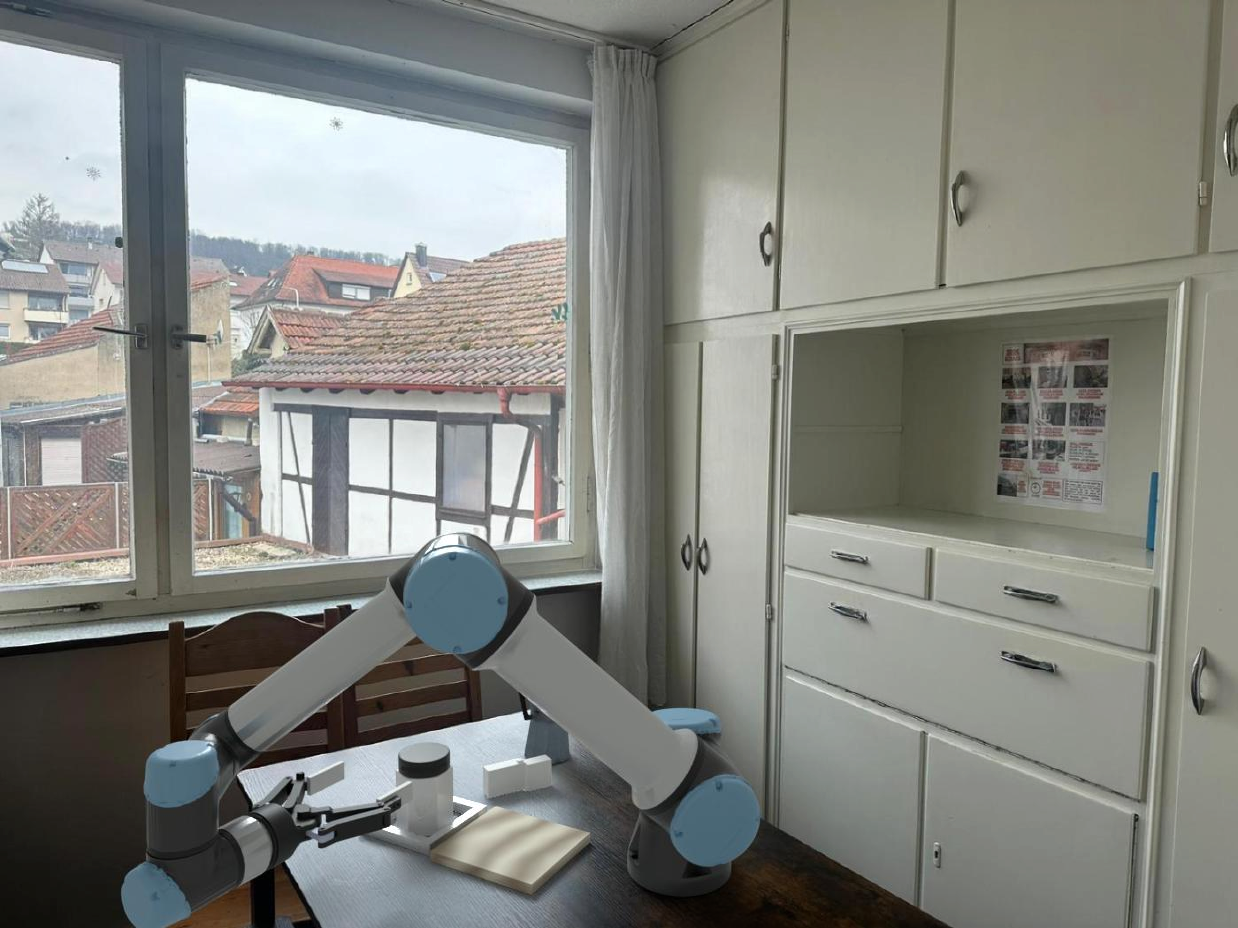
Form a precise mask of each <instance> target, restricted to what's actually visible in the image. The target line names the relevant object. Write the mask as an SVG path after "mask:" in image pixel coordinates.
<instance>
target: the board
mask: <svg viewBox="0 0 1238 928" xmlns="http://www.w3.org/2000/svg"><path fill="white" fill-rule="evenodd" d="M590 843H591V832H588V831H585V830H582V829H578V828H574V827H571V826H567V825H564V824H560V823H557V822H554V821H549V820H546V819H543V818H539V817H535V816H532V815H529V814H525V813H521V812H517V811H514V810H510V809H507V808H505V807H501V806H497V805H496V806H494V807H492V808H491V809H489V810H487V812H486V813H485V814H483V815H482V816H481V817H479V818H478V819H476V820H475V821H473V822H472V823H470V824H469V825H468V826H466V827H465V828H463V829H462V830H460V831H459V832H457V833H456V834H455V835H453V836H452V837H450V838H449V839H447V840H446V841H444V842H443V843H442V844H440V845H439V846H437V847H436V848H434V849H433V850H431V851H430V856H429V857H430V862H433V863H435V864H438V865H441V864H442V866H444V867H447V868H450V869H453V870H457V871H459V872H462V873H466V874H468V875H470V876H471V875H472V876H474V877H477V878H481V879H482V880H483V879H484V880H486V881H489V882H491V883H492V882H493V883H494V884H498V885H501V886H504V887H507V888H510V889H513V890H515V891H519V892H520V893H521V892H522V893H525V894H528V895H531V896H532V895H534V893H536V891H538V890H539V889H540V888H541V887H542V886H543V885H545V884H546V882H548V881H549V880H551V878H552V877H553V876H555V874H557V873H558V872H559V871H560V870H561V869H562V868H564V866H566V865H567V864H568V863H569V862H570V861H571V860H572V859H573V858H574V857H575V856H577V855H578V854H579V853H580V852H581V851H582V850H583V849H585V848H586V847H587V846H588V845H589V844H590Z"/></svg>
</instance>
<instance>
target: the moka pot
mask: <svg viewBox="0 0 1238 928" xmlns="http://www.w3.org/2000/svg"><path fill="white" fill-rule="evenodd" d="M517 693H518V696H519V701H520V707H521V711H522V712H521V713H522V716H523V721H529V725H528V731H527V737H526V742H525V748H524V755H523V756H524V758H525V759H529V758H533V757H537V756H541V755H547V756H548V757H549V758H550V759H551V765H553V764H559V763H563V762H565V761H567V760H569V759H570V756H571V751H570V740H569V733H568V732H566V731H565V730H564V729H563V728H562V727H560V726H559V725H558V724H557V723H556V722H554V721H553V720H552V719H551V718H550V717H548V716H547V715H546V714H545V713H544V712H542V711H541V710H540V709H539V708H538V707H536V706H535V705H534V704H533V703H532V702H530V701H529V700H528V699H527V700H528V702H526V697H524V696H523V695H522V694H521V693H520V692H518V691H517ZM526 703H528V706H529V708H530V710H529V711H530V714H529V712H528V708H527V704H526Z"/></svg>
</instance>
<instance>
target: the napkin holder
mask: <svg viewBox="0 0 1238 928" xmlns="http://www.w3.org/2000/svg"><path fill="white" fill-rule="evenodd" d="M548 787H549V788H550V787H552V764H551V759H550V758H549V757H548V756H547V755H541V756H537V757H533V758H529V759H526V758H525V759H524V758H520V757H517V758H513V759H508V760H505V761H501V762H495V763H492V764H491V763H490V764H487V765H484V766H482V790H483V791H482V793H483V795H484V796H485V795H486V796H487V797H488V798H490V799H493V798H492V797H494V798H496V797H495V796H498V795H502V796H505V795H504V794H506V795H509V794H508V793H510V794H512V793H511V792H513V793H516V792H515V791H517V792H519V791H518V790H521V791H522V790H524V791H526V792H527V791H530V792H533V791H532V790H534V791H537V790H536V789H538V790H541V789H540V788H542V789H545V788H548ZM486 796H485V797H486ZM487 797H486V798H487ZM498 797H499V796H498ZM488 798H487V799H488Z"/></svg>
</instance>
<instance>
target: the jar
mask: <svg viewBox="0 0 1238 928" xmlns="http://www.w3.org/2000/svg"><path fill="white" fill-rule="evenodd" d="M397 761H398V762H397V764H398V765H397V766H398V768H396V769H395V788H396V787H398V786H400V785H402V784H404V783H405V782H407V781H411V782H413V800H412V801H410V802H408V803H407V804H405V805H403V806H401V808H400V809H398V810H396V819H395V820H396V827H397V828H400V829H403V830H407V831H410V832H413V833H416V834H419V835H422V836H425V837H430V836H432V835H433V834H435V833H436V832H438V831H439V830H441V829H442V828H444V827H445V826H447V825H448V824H450V823H451V822H453V821H454V820H455V819H454V812H453V796H454V767H453V765H452V764H451V750H450V748H449V747H448V746H447V745H445V744H443V743H439V742H431V741H430V742H428V741H427V742H420V743H418V742H417V743H414V744H411V745H408V746H406V747H404V748H402V749H401V750H400V751H399V752H398V754H397Z"/></svg>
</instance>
